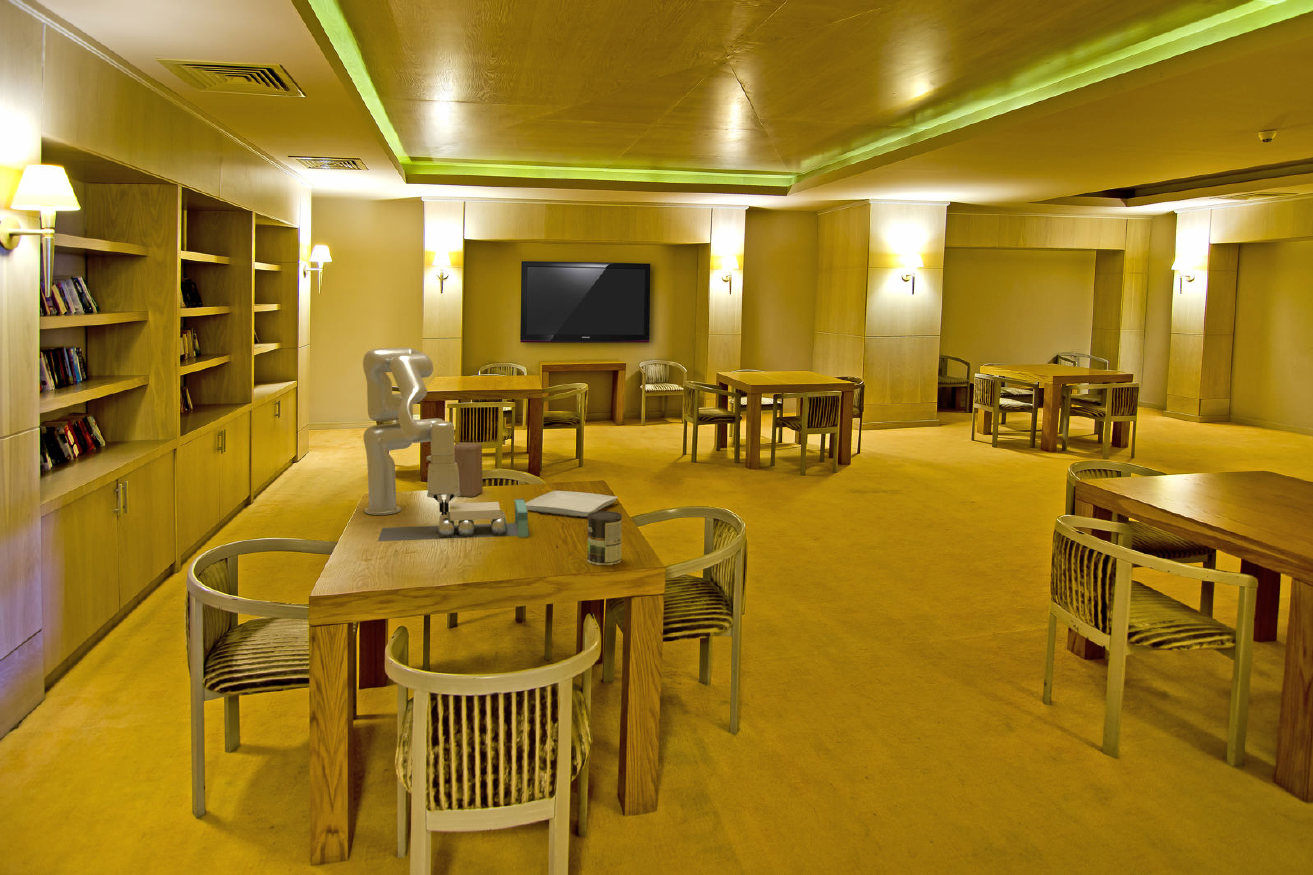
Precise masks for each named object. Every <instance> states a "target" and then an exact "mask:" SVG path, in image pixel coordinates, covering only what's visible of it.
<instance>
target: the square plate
mask: <svg viewBox="0 0 1313 875" xmlns="http://www.w3.org/2000/svg"><path fill="white" fill-rule="evenodd" d="M618 498H619V497H618V496H615V495H614V496H613V495H608V494H607V495H606V494H601V493H600V494H598V493H591V492H583V491H582V492H580V491H568V490H567V491H565V490H552V491H550V492H547V493H545V494H541V495H540V496H537V497H535V498H533V499H531V500H528V501H526V502H525V505H526V509H527V511H531V512H532V511H533V512H538V513H541V514H548V513H551V514H550V515H558V514H560V515H561V516H567V515H569V516H570V517H577V516H580V517H583V518H585V517H587V515H588V514H589V513H592V512H598V511H601V510H602V509H604V508H606V507H608V506H610V505H612V504H613V503H614V502H615V501H616V500H618ZM569 516H568V517H569Z"/></svg>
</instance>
